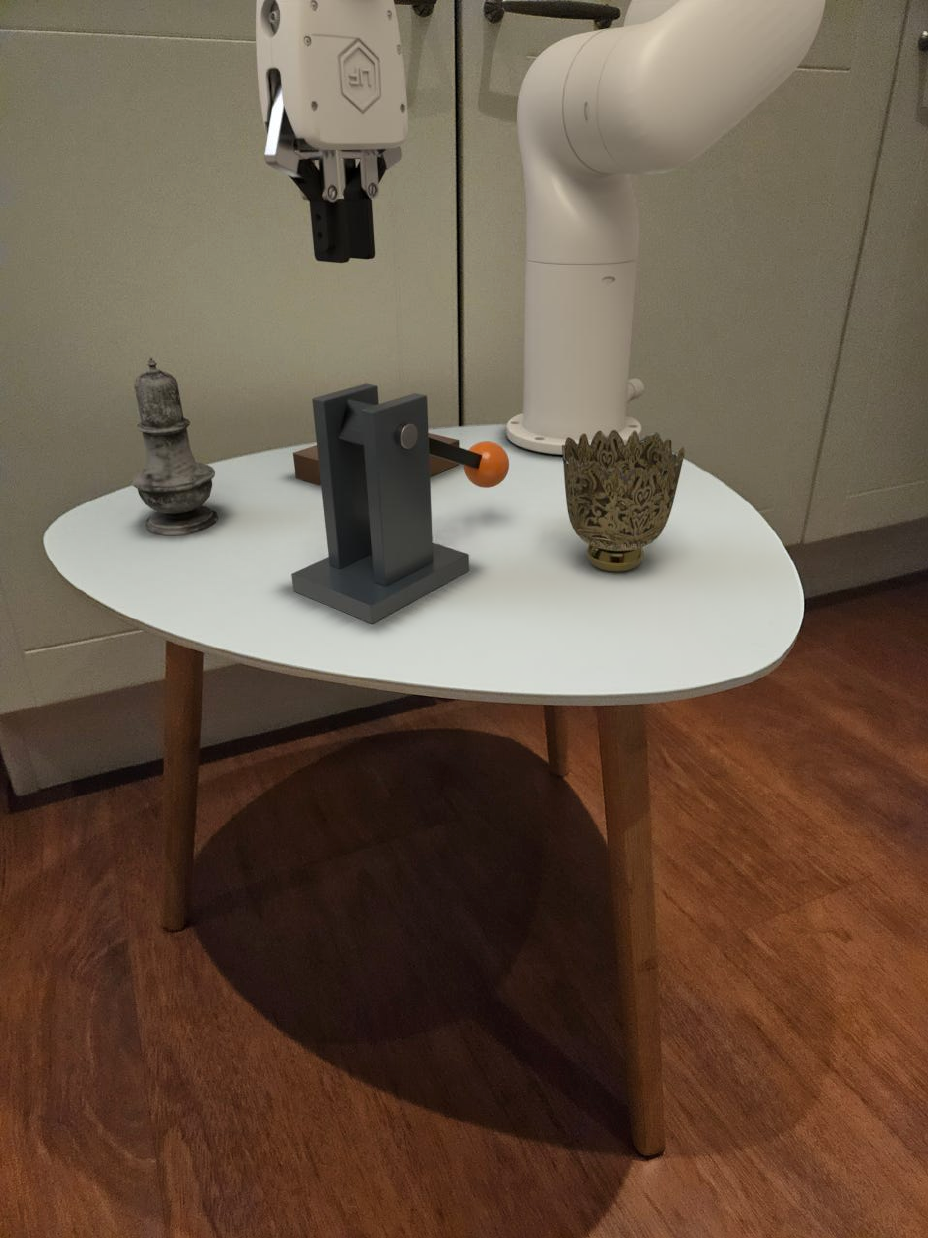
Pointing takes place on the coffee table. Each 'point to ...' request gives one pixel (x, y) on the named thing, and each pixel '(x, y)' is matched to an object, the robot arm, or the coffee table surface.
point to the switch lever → (440, 449)
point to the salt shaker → (170, 460)
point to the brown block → (310, 471)
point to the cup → (619, 494)
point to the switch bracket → (376, 509)
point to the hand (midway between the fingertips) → (345, 257)
